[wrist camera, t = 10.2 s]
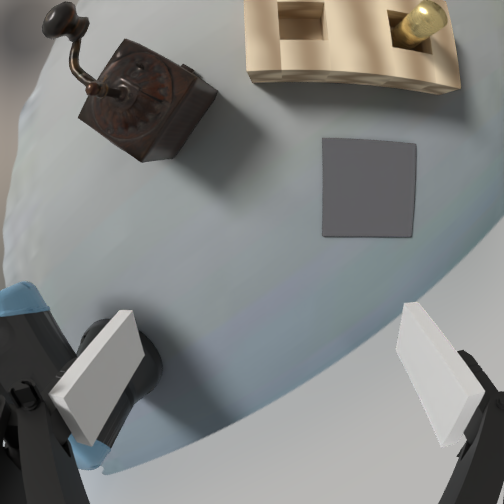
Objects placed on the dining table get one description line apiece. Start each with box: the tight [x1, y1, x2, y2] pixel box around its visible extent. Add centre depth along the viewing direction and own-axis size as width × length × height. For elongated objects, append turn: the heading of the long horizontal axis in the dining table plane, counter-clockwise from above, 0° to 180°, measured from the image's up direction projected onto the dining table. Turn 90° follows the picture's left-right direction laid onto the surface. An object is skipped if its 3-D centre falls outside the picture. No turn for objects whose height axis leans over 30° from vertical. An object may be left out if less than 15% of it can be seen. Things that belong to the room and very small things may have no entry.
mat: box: [322, 138, 416, 237], centre depth 35 cm, size 12×12×1 cm
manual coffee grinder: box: [42, 2, 217, 163], centre depth 26 cm, size 16×11×18 cm
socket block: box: [244, 0, 461, 95], centre depth 27 cm, size 24×12×6 cm, turn 92°
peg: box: [391, 0, 448, 50], centre depth 23 cm, size 3×3×11 cm
